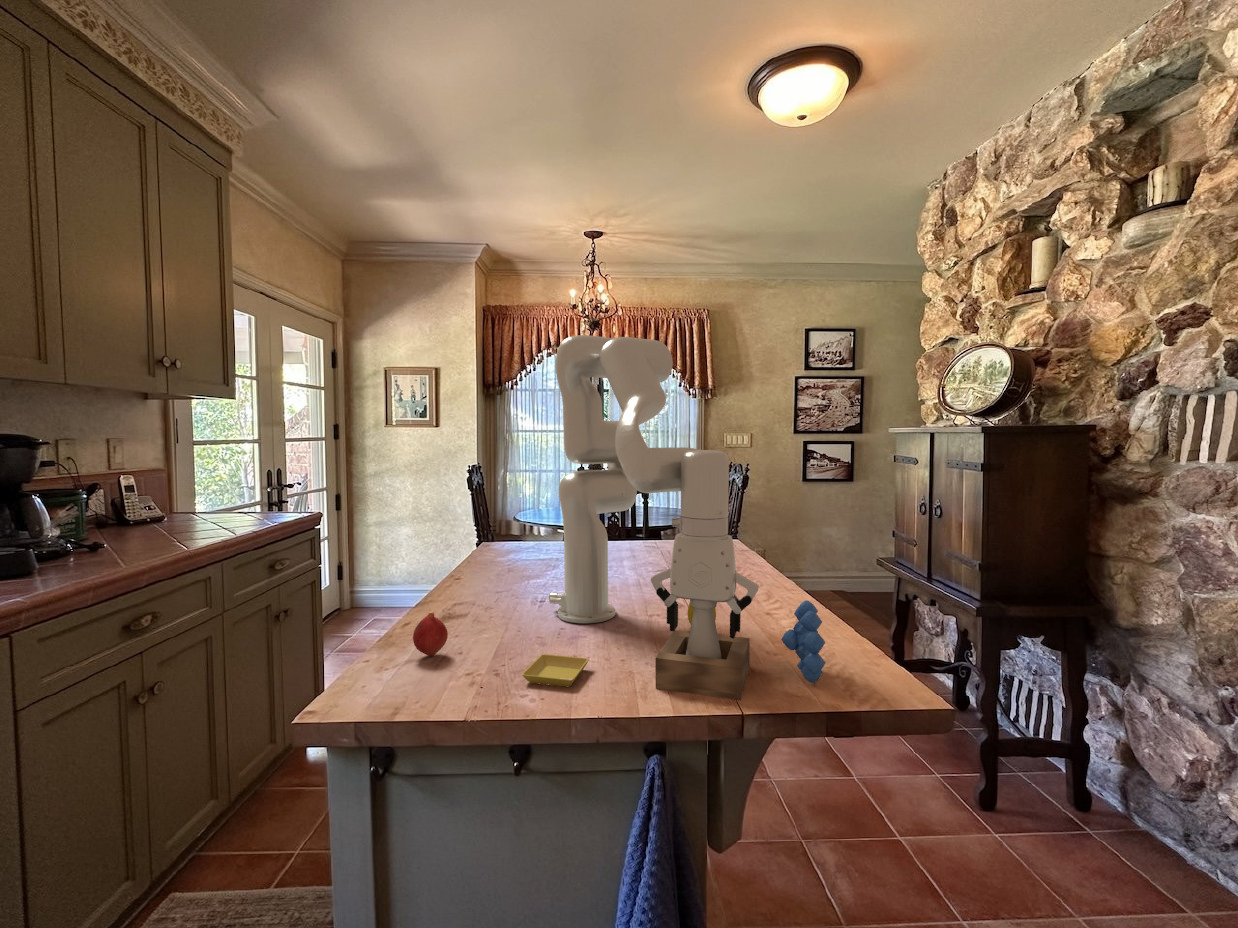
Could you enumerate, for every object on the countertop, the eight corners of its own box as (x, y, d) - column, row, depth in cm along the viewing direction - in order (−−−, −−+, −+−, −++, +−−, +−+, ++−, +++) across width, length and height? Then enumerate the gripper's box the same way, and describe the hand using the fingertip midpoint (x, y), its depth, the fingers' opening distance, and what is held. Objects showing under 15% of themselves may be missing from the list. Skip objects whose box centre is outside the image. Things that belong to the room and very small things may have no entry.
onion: (416, 665, 97) (414, 619, 97) (411, 653, 102) (410, 610, 102) (450, 658, 100) (449, 614, 99) (444, 648, 105) (443, 605, 104)
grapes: (775, 661, 98) (775, 592, 97) (815, 662, 97) (816, 593, 96) (786, 690, 86) (787, 613, 86) (833, 693, 85) (833, 614, 85)
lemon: (718, 630, 113) (718, 590, 113) (713, 639, 108) (713, 598, 108) (690, 627, 115) (690, 588, 115) (684, 636, 110) (684, 595, 110)
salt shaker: (721, 680, 88) (721, 598, 87) (684, 677, 89) (684, 596, 89) (721, 665, 94) (721, 588, 93) (687, 663, 95) (686, 586, 94)
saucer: (572, 693, 87) (572, 679, 87) (520, 687, 89) (520, 673, 89) (590, 670, 95) (589, 658, 95) (542, 665, 97) (542, 653, 97)
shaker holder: (655, 688, 87) (655, 657, 87) (674, 657, 100) (674, 630, 99) (741, 700, 83) (741, 668, 83) (749, 665, 96) (749, 638, 95)
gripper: (645, 528, 90) (645, 633, 91) (757, 534, 84) (755, 647, 85) (657, 520, 97) (656, 619, 98) (761, 526, 91) (759, 630, 92)
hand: (702, 631), depth 91 cm, fingers open, 9 cm apart
